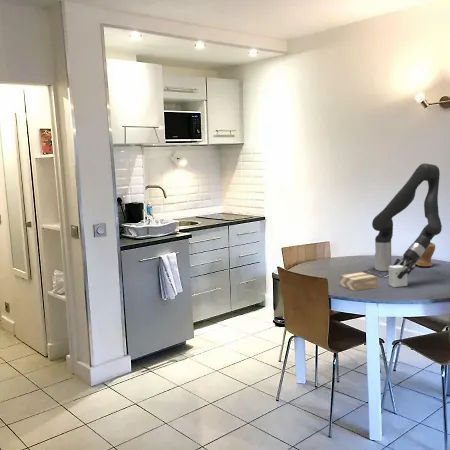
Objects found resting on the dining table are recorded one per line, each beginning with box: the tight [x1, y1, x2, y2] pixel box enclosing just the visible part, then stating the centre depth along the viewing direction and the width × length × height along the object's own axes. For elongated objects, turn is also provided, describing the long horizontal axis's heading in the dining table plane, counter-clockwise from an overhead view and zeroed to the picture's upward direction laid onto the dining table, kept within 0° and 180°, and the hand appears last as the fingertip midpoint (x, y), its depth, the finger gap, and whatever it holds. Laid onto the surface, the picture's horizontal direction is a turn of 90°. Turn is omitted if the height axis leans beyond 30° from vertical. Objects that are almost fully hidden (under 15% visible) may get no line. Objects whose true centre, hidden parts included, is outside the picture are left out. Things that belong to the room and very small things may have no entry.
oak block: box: [339, 271, 378, 292], centre depth 272 cm, size 14×14×6 cm
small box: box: [388, 264, 408, 288], centre depth 270 cm, size 8×6×10 cm
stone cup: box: [415, 241, 436, 267], centre depth 314 cm, size 15×12×15 cm
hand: (395, 276), depth 269 cm, fingers closed on small box, 6 cm apart
